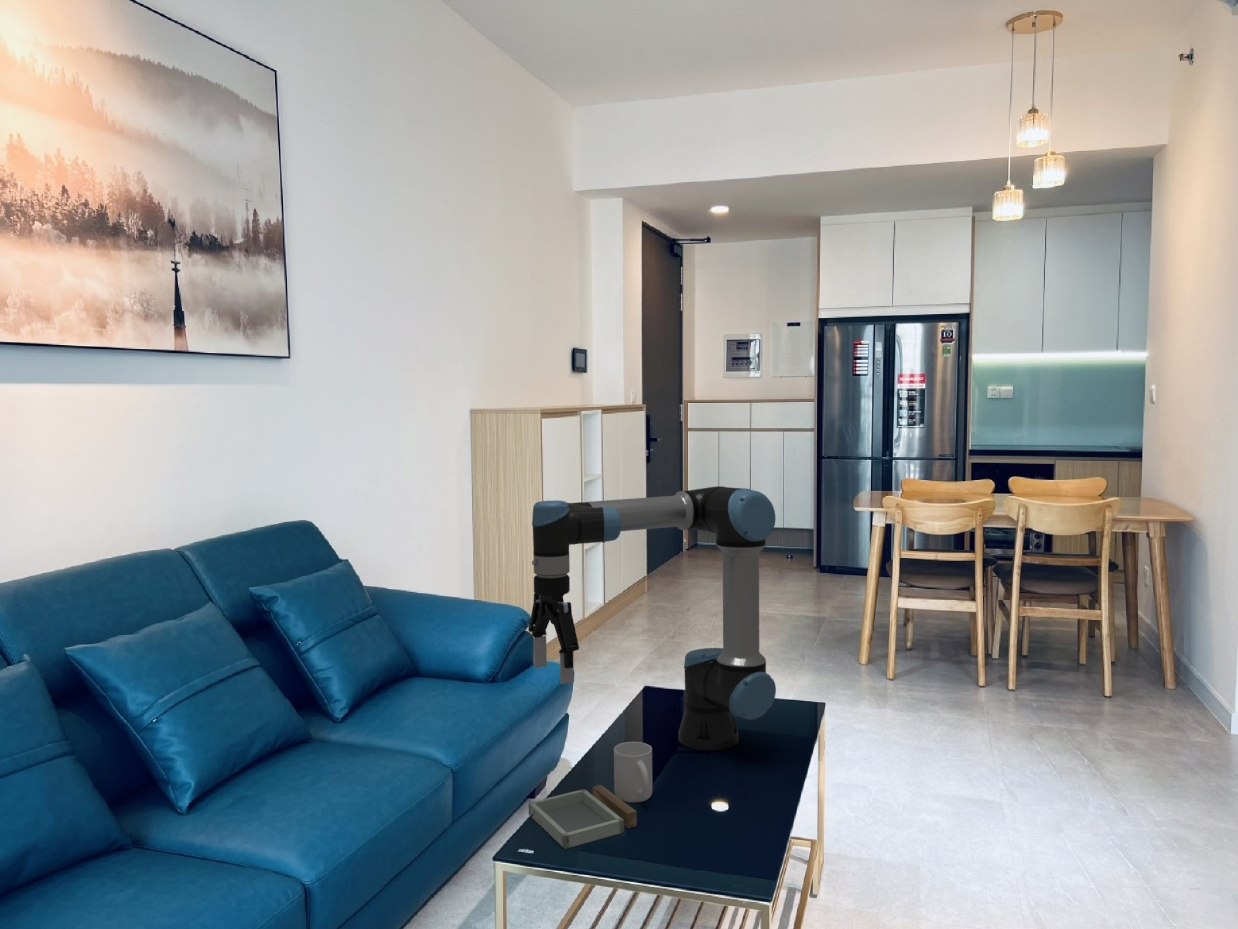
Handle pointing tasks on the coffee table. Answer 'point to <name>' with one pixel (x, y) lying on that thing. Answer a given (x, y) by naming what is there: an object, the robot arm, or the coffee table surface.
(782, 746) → the coffee table surface
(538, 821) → the frame
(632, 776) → the mug
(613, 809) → the edge rail
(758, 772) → the coffee table surface
